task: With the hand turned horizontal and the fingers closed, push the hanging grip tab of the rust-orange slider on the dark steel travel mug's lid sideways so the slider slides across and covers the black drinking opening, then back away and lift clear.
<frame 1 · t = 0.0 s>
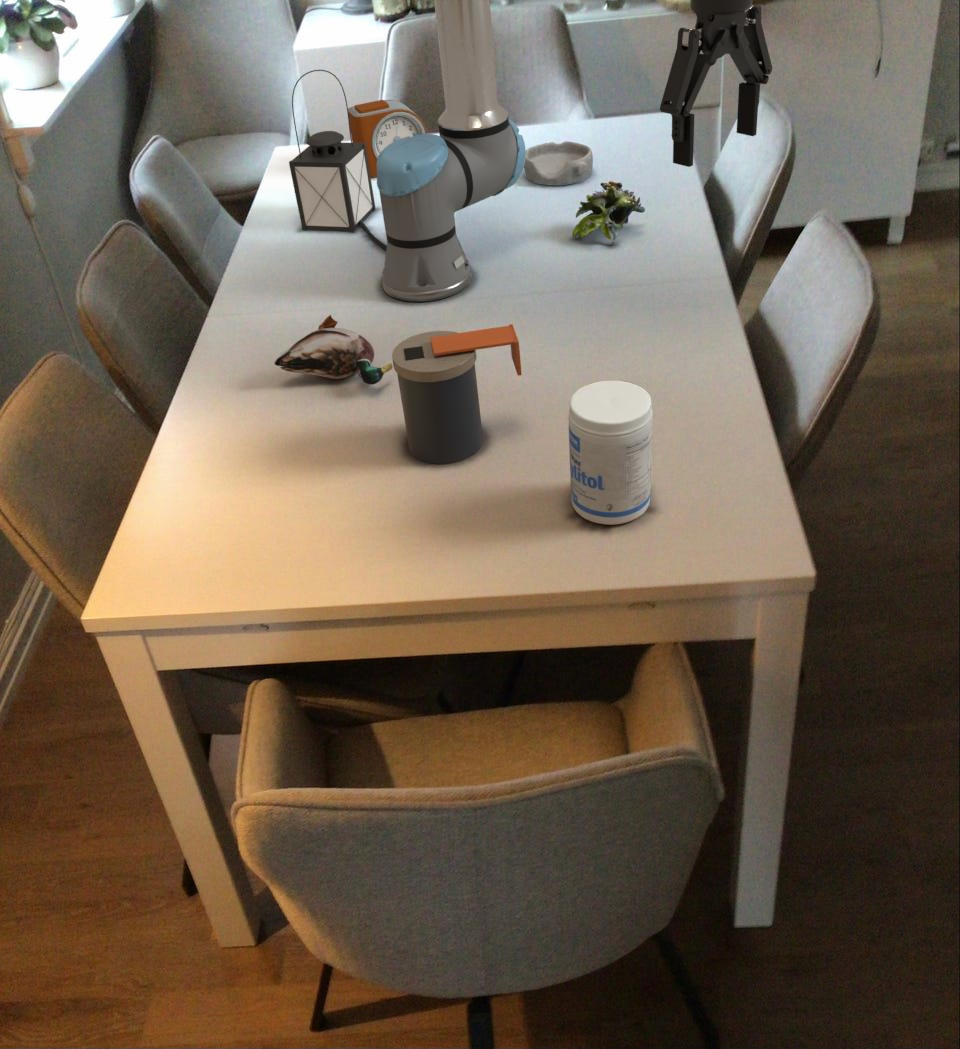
hand: (715, 149, 144), 28 cm above the table, tool pointing down, fingers open, 13 cm apart
lid slider: (475, 355, 138), point 12 cm above the table, slide at 0.0 cm
lantern: (339, 220, 211), on the table
travel mug: (446, 442, 145), on the table
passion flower: (609, 238, 193), on the table
alarm clock: (393, 167, 232), on the table
supplement tub: (611, 505, 131), on the table
decorative duck model: (335, 384, 161), on the table
dish: (558, 176, 219), on the table
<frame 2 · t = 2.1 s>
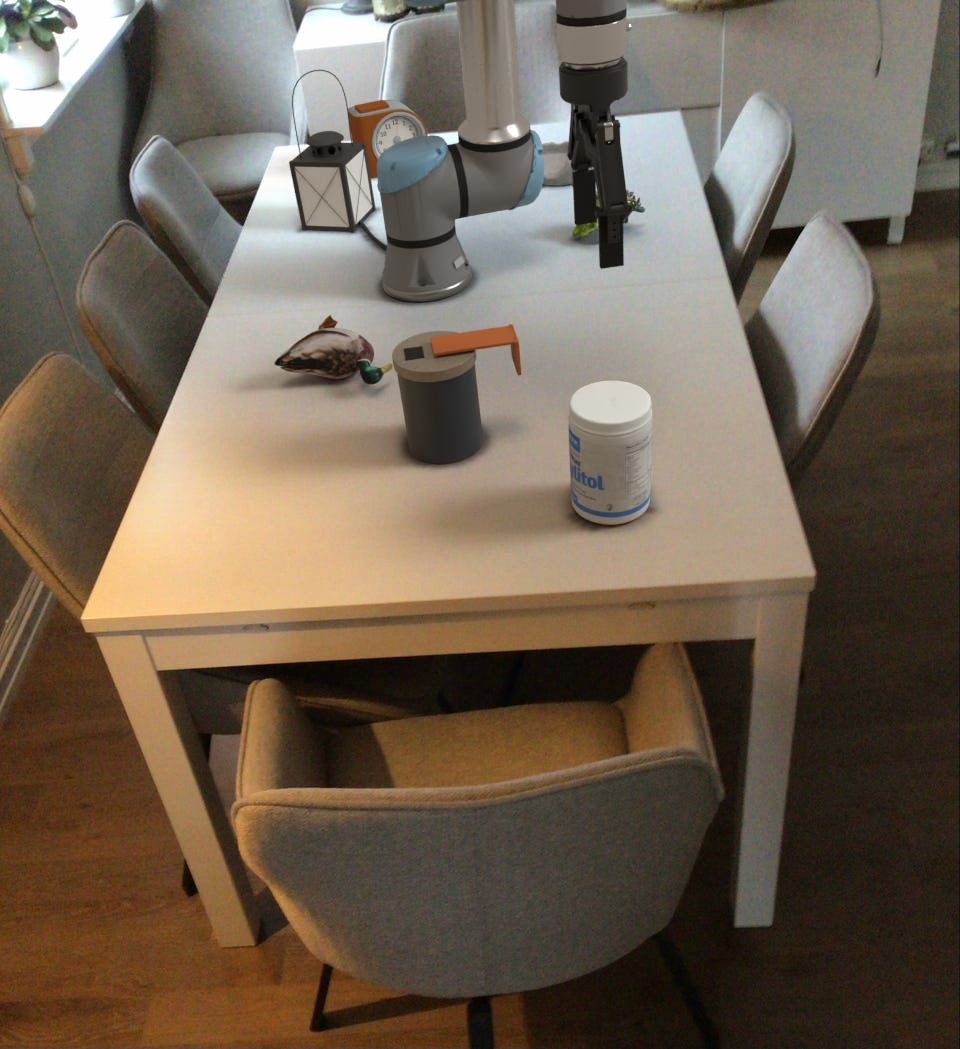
hand: (598, 243, 131), 25 cm above the table, tool pointing down, fingers open, 13 cm apart
nothing on the table moved.
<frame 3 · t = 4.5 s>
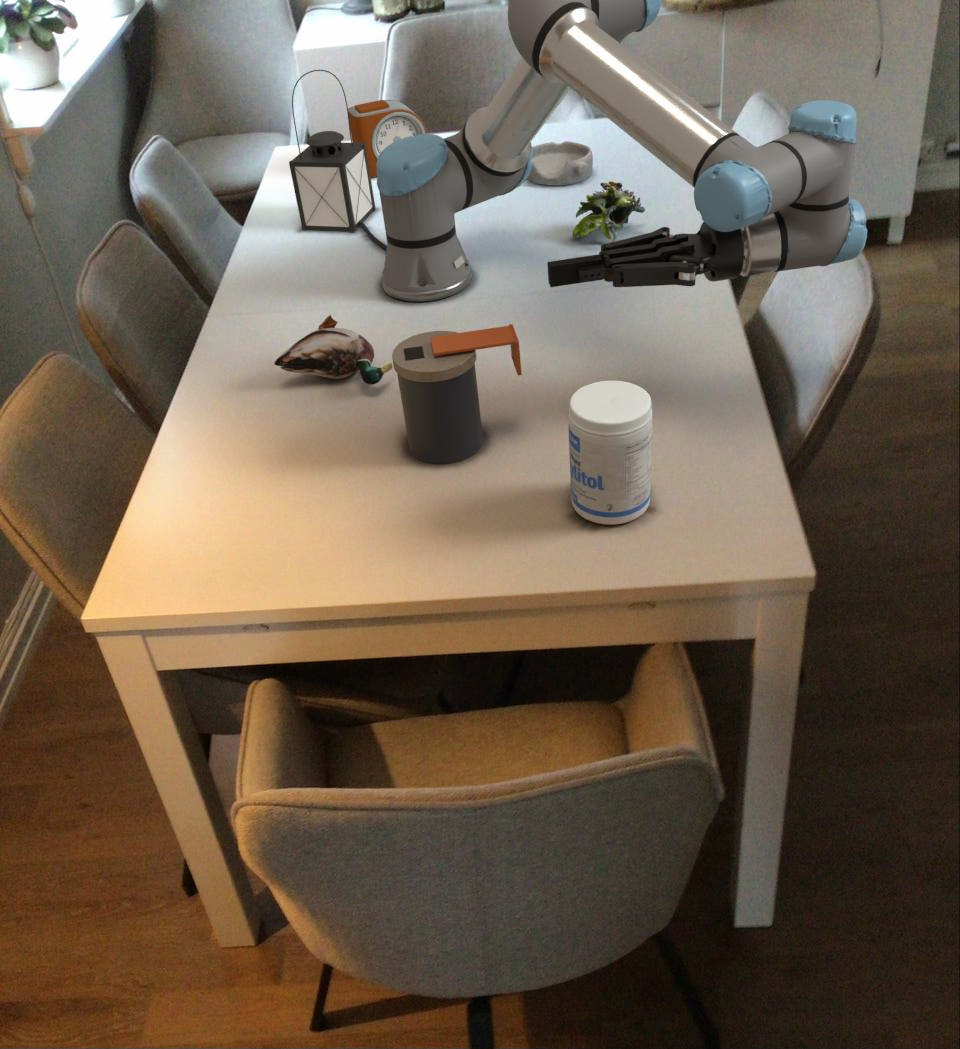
hand: (549, 274, 132), 22 cm above the table, tool horizontal, fingers closed
nothing on the table moved.
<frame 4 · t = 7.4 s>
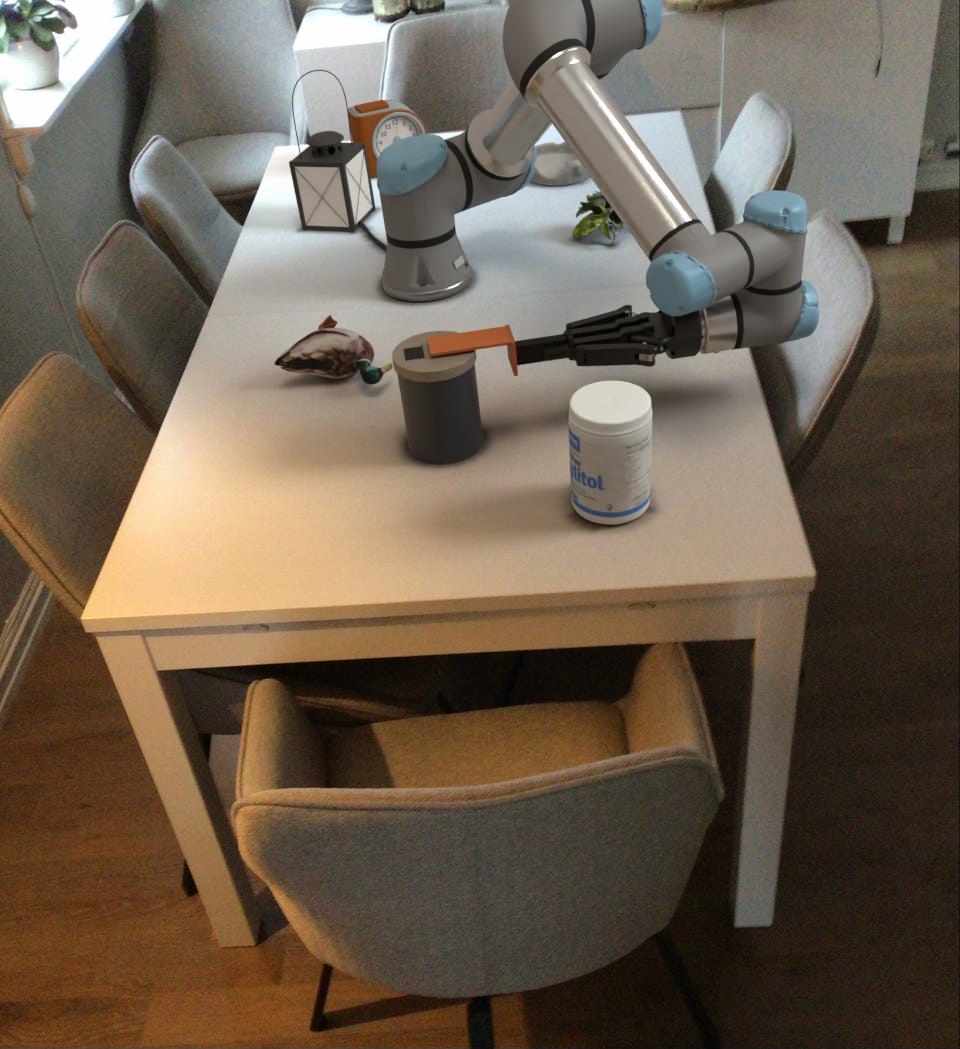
hand: (515, 353, 138), 12 cm above the table, tool horizontal, fingers closed
lid slider: (472, 356, 138), point 12 cm above the table, slide at 0.5 cm, touching gripper
everything else where it was.
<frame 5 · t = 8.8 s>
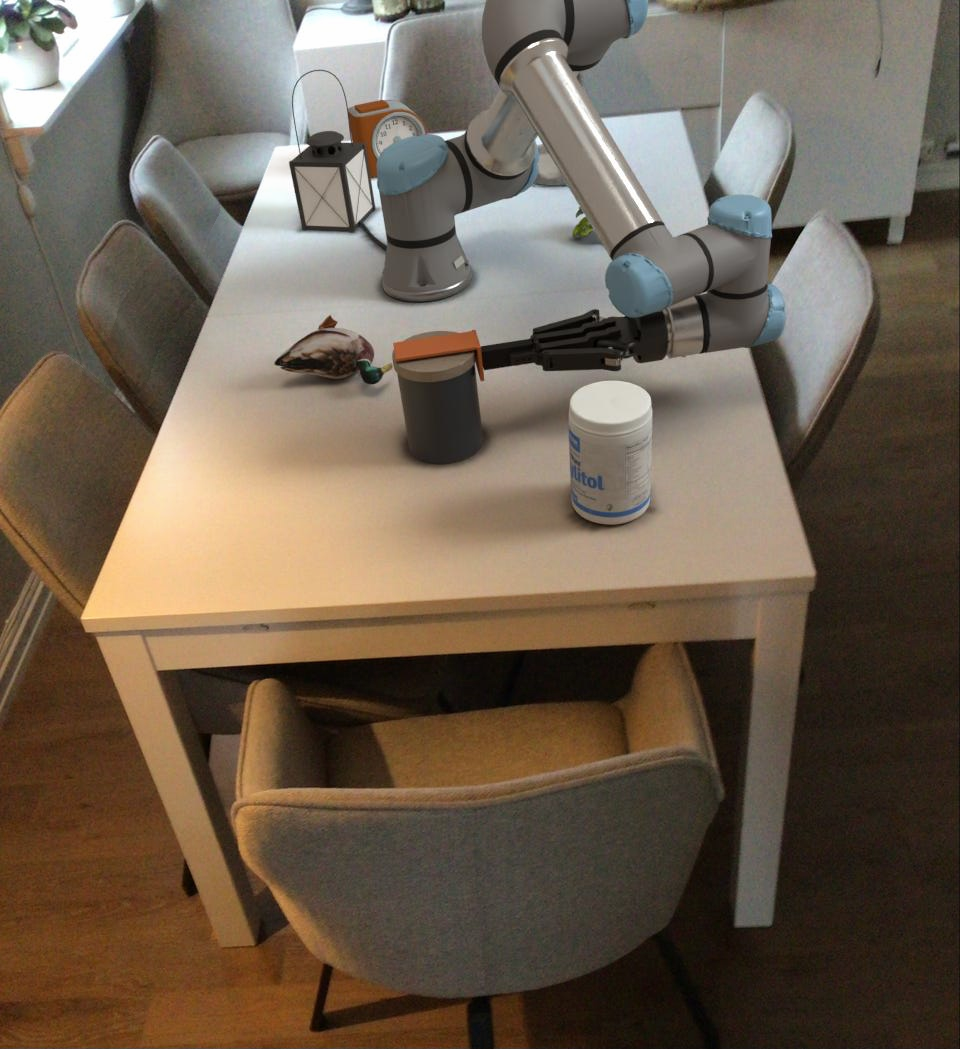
hand: (482, 358, 138), 12 cm above the table, tool horizontal, fingers closed
lid slider: (438, 361, 137), point 12 cm above the table, slide at 4.8 cm, touching gripper, travel mug
everything else where it was.
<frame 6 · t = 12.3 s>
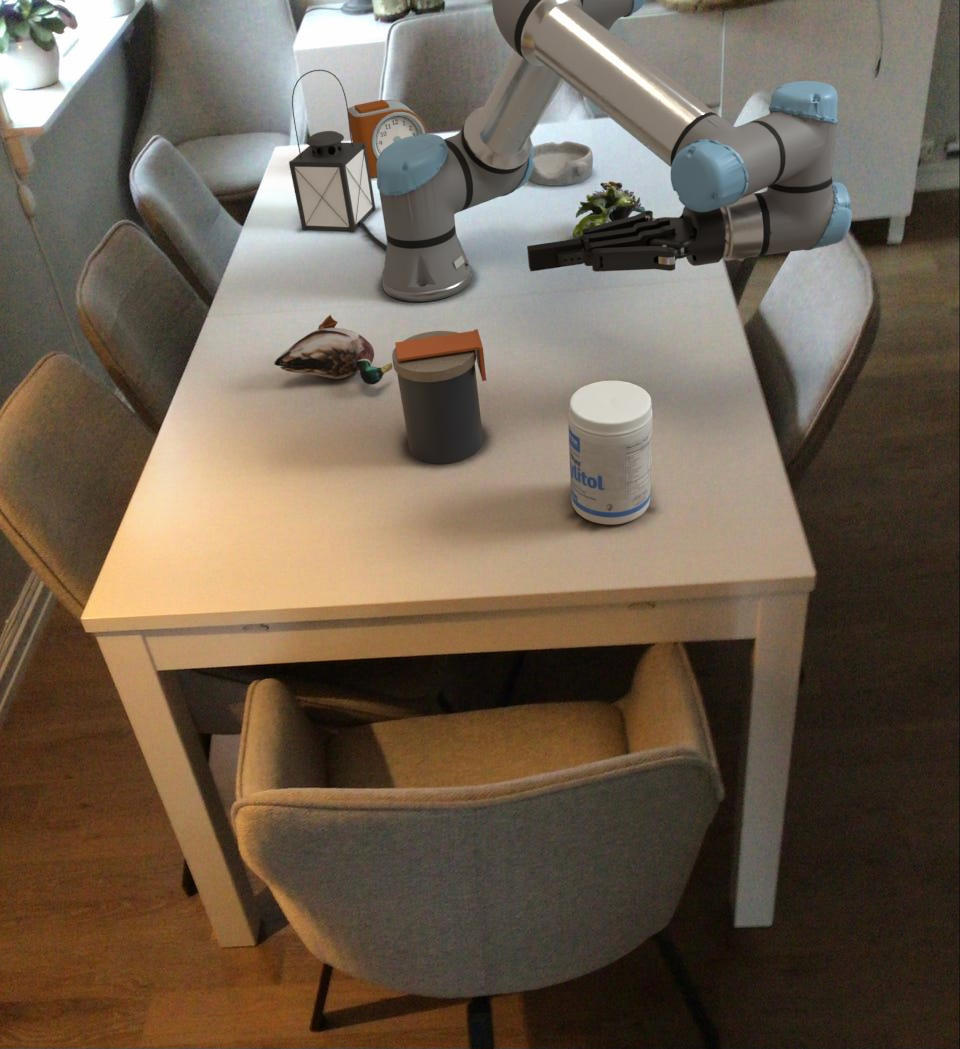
hand: (529, 258, 132), 24 cm above the table, tool horizontal, fingers closed
lid slider: (440, 360, 137), point 12 cm above the table, slide at 4.6 cm
everything else where it was.
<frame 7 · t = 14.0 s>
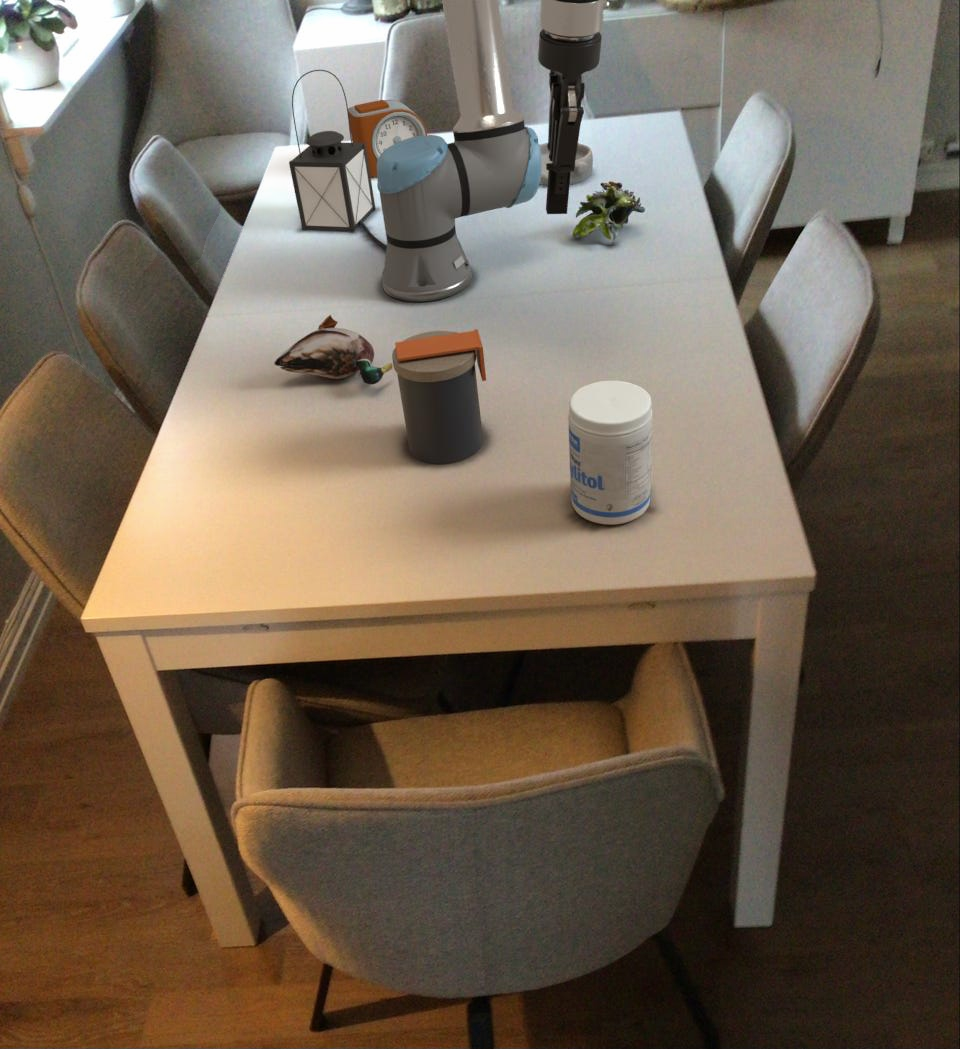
hand: (556, 211, 146), 23 cm above the table, tool pointing down, fingers closed
nothing on the table moved.
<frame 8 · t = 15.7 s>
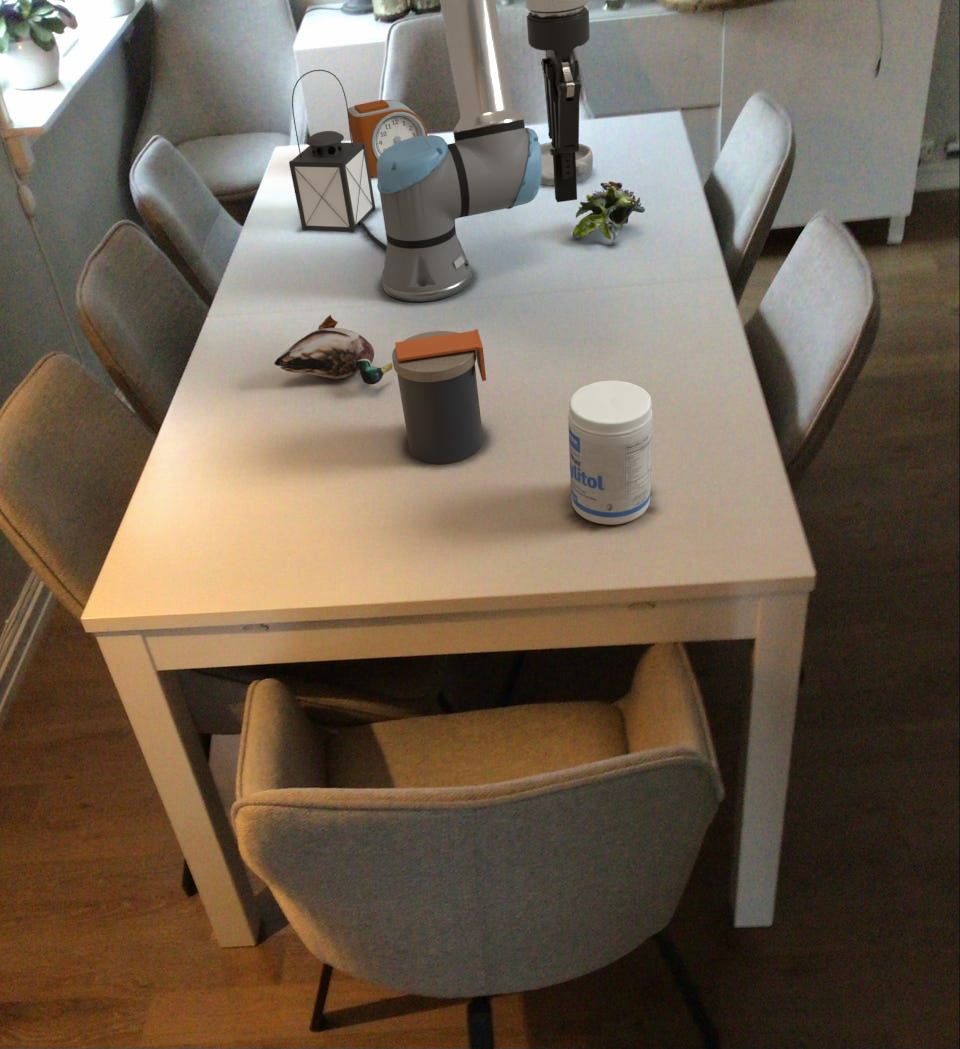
hand: (566, 198, 145), 24 cm above the table, tool pointing down, fingers closed
nothing on the table moved.
at the end: lid slider slide at 4.6 cm; supplement tub moved 0.2 cm from its start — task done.
